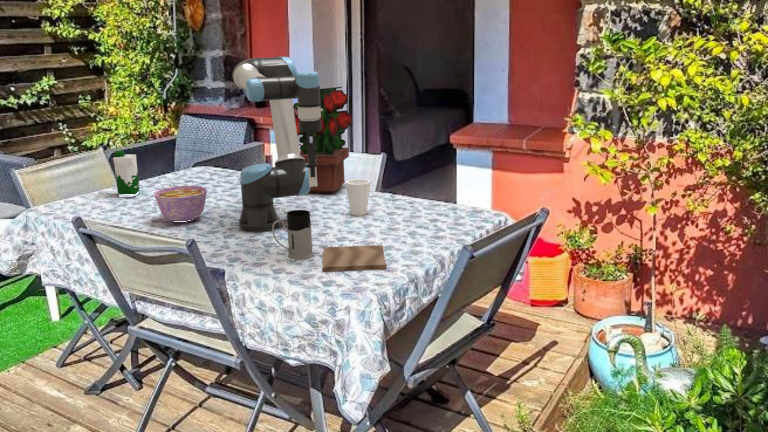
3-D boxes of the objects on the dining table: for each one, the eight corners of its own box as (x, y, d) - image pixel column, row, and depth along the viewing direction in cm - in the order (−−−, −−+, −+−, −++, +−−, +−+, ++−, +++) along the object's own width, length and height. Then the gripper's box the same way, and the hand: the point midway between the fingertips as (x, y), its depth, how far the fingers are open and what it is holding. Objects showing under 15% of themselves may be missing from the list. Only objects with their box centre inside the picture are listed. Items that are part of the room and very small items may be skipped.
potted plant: (353, 185, 355) (350, 86, 343) (339, 197, 335) (335, 92, 322) (307, 183, 360) (302, 85, 348) (291, 195, 340) (285, 92, 327)
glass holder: (318, 256, 260) (316, 213, 256) (280, 265, 252) (278, 221, 248) (305, 250, 267) (303, 207, 263) (268, 258, 259) (265, 215, 255)
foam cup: (367, 217, 304) (366, 184, 301) (344, 216, 306) (343, 184, 303) (372, 210, 313) (371, 179, 310) (350, 209, 315) (349, 178, 311)
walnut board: (322, 271, 246) (322, 267, 245) (323, 251, 265) (323, 247, 264) (386, 269, 247) (385, 264, 246) (382, 249, 266) (382, 245, 265)
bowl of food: (146, 225, 301) (143, 196, 298) (176, 211, 319) (174, 184, 316) (190, 229, 294) (188, 199, 291) (219, 215, 312) (216, 187, 309)
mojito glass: (122, 193, 351) (117, 149, 345) (142, 193, 350) (137, 149, 345) (115, 198, 342) (110, 153, 337) (136, 198, 342) (131, 153, 336)
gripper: (322, 124, 246) (325, 189, 252) (320, 113, 270) (323, 173, 276) (298, 125, 245) (301, 190, 251) (298, 114, 269) (302, 174, 275)
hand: (313, 181), depth 263 cm, fingers open, 13 cm apart
